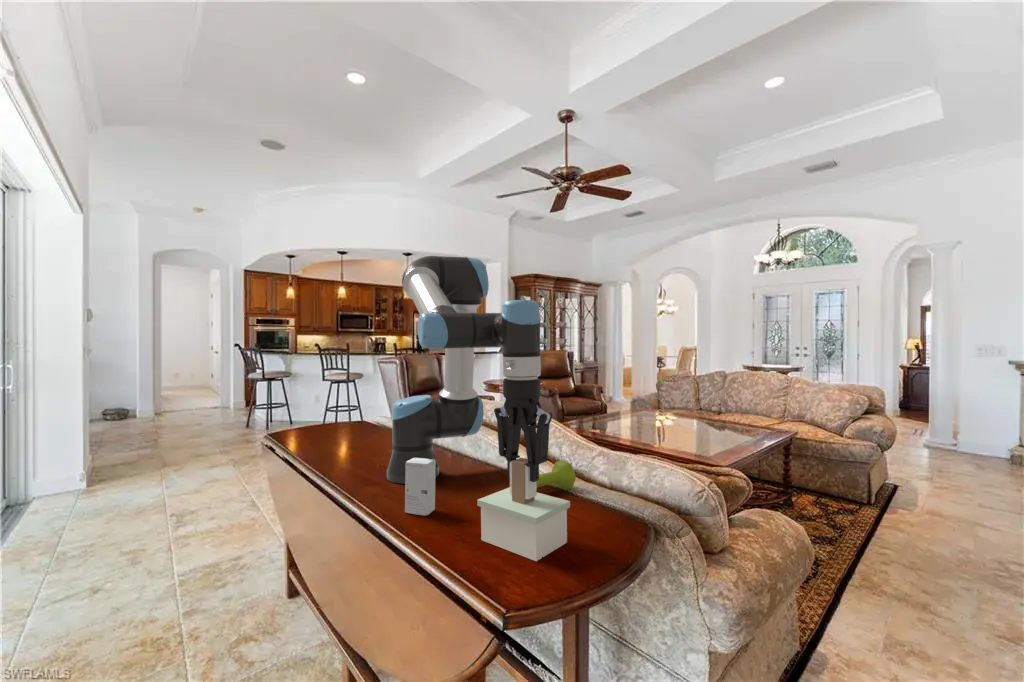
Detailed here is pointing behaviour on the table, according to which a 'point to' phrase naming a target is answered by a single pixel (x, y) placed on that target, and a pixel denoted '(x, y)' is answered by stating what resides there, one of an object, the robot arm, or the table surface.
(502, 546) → the box
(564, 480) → the dumbbell
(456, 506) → the table surface
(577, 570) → the table surface
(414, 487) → the skincare box
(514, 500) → the lid
